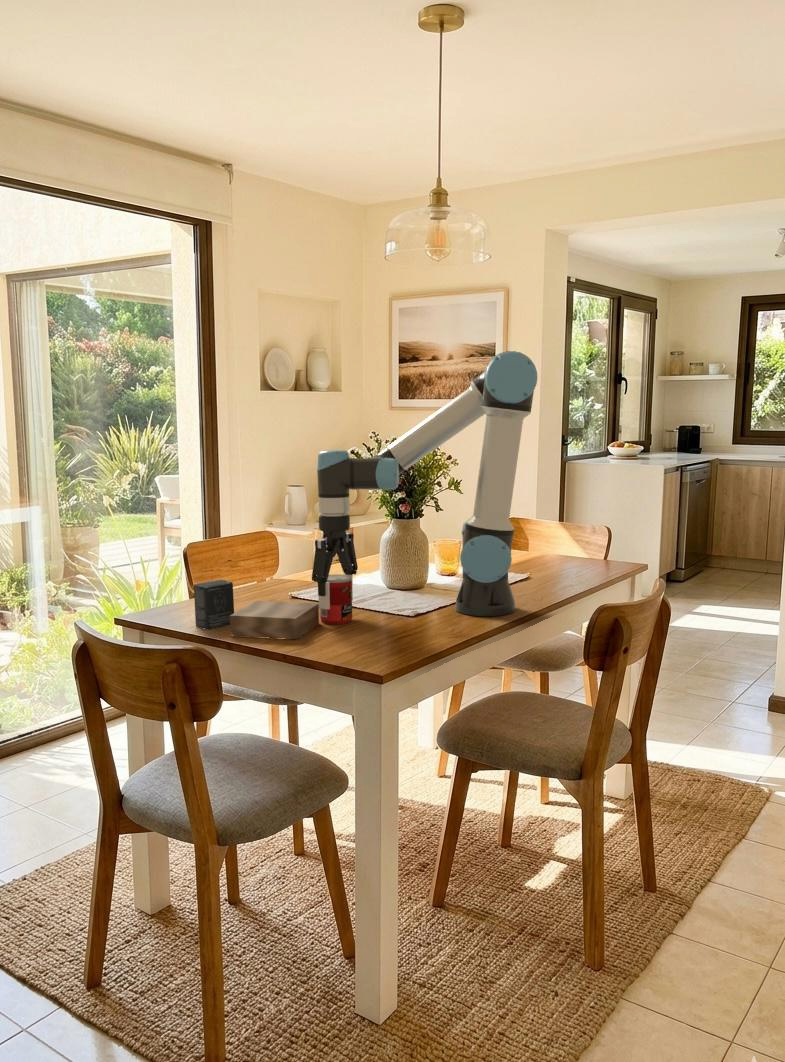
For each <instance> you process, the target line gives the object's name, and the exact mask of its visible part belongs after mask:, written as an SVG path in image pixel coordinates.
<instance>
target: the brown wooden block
mask: <svg viewBox="0 0 785 1062" xmlns="http://www.w3.org/2000/svg"><path fill="white" fill-rule="evenodd" d="M319 624H320V609H319V602H318V603H315V602H311V603H310V602H295V601H294V602H292V601H269V600H268V601H267V600H256V601H254V602H252V603H250V604H248V605H246V606H245V607H242V608H241V609H239V610H237V611H234V614H232V615H230V625H229V626H230V636H231V635H233V636H249V637H269V638H285V639H297V638H299V637H300V636H301V637H303V636H304V635H305V634H307V633H309V632H310V631H311V630H312V629H314V628H315V627H316V626H318V625H319ZM309 630H310V631H309ZM306 632H307V633H306ZM303 634H304V635H303ZM302 635H303V636H302ZM301 637H300V638H301ZM300 638H299V639H300ZM297 640H298V639H297Z"/></svg>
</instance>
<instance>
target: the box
mask: <svg viewBox="0 0 785 1062" xmlns="http://www.w3.org/2000/svg"><path fill="white" fill-rule="evenodd" d="M193 594H194V595H193V596H194V597H193V598H194V616H195V617H194V618H195V627H197V626H198V628H200V627H201V628H200V629H203V628H205V629H204V630H206V629H210V630H213V629H212V628H214V629H218V628H217V627H219V628H222V626H223V627H228V626H230V615H232V614H234V613H235V603H234V585H233V581H229V580H224V579H217V580H212V581H206V582H201V583H199V582H198V583H194V584H193Z"/></svg>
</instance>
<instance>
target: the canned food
mask: <svg viewBox="0 0 785 1062" xmlns="http://www.w3.org/2000/svg"><path fill="white" fill-rule="evenodd" d="M323 577H324V576H323ZM352 581H353V580H352V579H351V576H348V575H342V574H329V575H328V579H327V582H329V591H330V609H319V619H320V622H321V623H323V624H327V625H345V624H350V622H352V619H353V601H352V588H353V585H352Z"/></svg>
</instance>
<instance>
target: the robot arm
mask: <svg viewBox="0 0 785 1062" xmlns="http://www.w3.org/2000/svg"><path fill="white" fill-rule="evenodd" d="M537 383H538V370H537V367H536V365H535V363H534V361H533V360H532V359H531V358H530V357H529V356H528V355H526V354H524V353H522V352H520V351H515V350H513V351H512V350H511V351H510V350H506V351H503V352H500V353H498V354H496V355H495V356H493V357H492V358H491V360H489V362H488V363H487V366H486V368H485V370H484V371H482V372H481V373H480V374H479V375H478V376H477V377H475V378H474V379H473V380H471V381H470V385H469V387H468V388H467V389H465V390H464V391H463V392H462V393H460V394H459V395H457V396H456V397H454V398H453V399H452V400H450V401H449V402H448V403H446V404H445V405H443V406H442V407H440V408H439V409H438V410H436V411H435V412H434V413H432V414H430V415H429V416H428V417H426V418H425V419H423V421H421V422H420V423H418V424H417V425H415V426H414V427H413V428H411V429H410V430H409V431H407V432H406V433H404V434H403V435H401V436H400V437H399V438H397V439H396V440H395V441H393V442H392V443H390V444H389V445H388V446H386V447H385V448H383V449H381V451H379V452H378V453H376V454H374V455H373V456H372V457H371V458H369V457H368V458H365V457H364V458H352V457H350V455H349V454H350V453H349V452H348V451H347V450H345V449H326V450H321V451H320V452H319V453H318V455H317V468H316V471H317V492H318V496H317V497H318V500H317V501H318V513H319V514H320V515H319V516H318V529H319V531H321V532H322V533H323V534H322V537H321V538H320V539H315V540H314V548H315V550H314V557H313V565H312V571H311V572H312V573H311V581H312V582H314V583H317V596H318V604H319V610H320V609H330V591H329V582H327V579H328V575H330V571H331V568H332V563H333V560H334V558H335V557H336V555H337V559H338V561H339V563H340V565H341V568H342V572H343V574H341V575H348V576H351V579H352V586H354V585H353V581H354V580H353V575H357V574H358V573H357V572H358V567H359V566H358V562H357V555H356V550H355V544H354V537H355V536H354V533H352V532H347V531H349V530H350V529H351V522H350V521H351V519H350V518H351V517H350V515H349V513H350V512H351V510H350V509H351V508H350V503H351V502H350V490H353V491H354V490H374V491H375V490H380V491H381V490H382V491H387V490H396V489H397V488H398V487H399V484H400V483H399V482H400V475H401V474H403V472H405V471H406V470H407V469H409V468H410V467H412V466H413V465H415V464H417V462H419V461H420V460H422V459H423V458H425V457H426V456H427V455H429V454H431V453H432V452H433V451H435V450H436V449H438V448H439V447H440V446H442V445H443V444H445V443H446V442H448V441H450V440H451V439H452V438H453V437H454V436H456V435H458V433H460V432H462V431H463V430H464V429H466V428H467V427H469V426H470V425H472V424H473V423H475V422H476V421H477V420H479V419H480V418H482V417H483V416H484V415H485V416H486V418H485V425H484V432H483V439H482V445H481V446H482V448H481V456H480V461H479V462H480V463H479V468H478V469H479V470H478V477H477V485H476V491H475V500H474V508H473V514H472V516H471V517H469V518H468V519H467V520H465V522H464V523H463V525H462V530H461V536H462V542H461V543H462V547H461V552H460V556H459V557H460V559H459V560H460V564H461V568H462V580H461V585H460V588H459V591H458V594H457V596H456V599H455V611H457V612H458V613H459V614H463V615H467V616H474V617H477V616H478V617H496V616H497V617H498V616H499V617H500V616H506V615H511V614H513V613H514V612H515V611H516V603H515V601H516V600H515V598H514V595H513V592H512V588H511V585H510V583H509V570H510V568H511V565H512V559H513V558H512V548H513V547H512V546H513V541H514V532H515V526H513V524H512V523H511V521H510V515H511V508H512V503H513V502H512V500H513V494H514V488H515V487H514V486H515V482H516V481H515V480H516V474H517V466H518V459H519V451H520V444H521V439H522V438H521V437H522V432H523V431H522V430H523V424H524V419H525V418H527V417H528V416H530V414H531V413H532V407H533V401H534V394H535V389H536V387H537ZM323 576H324V577H323ZM353 591H354V589H353V587H352V602H353V601H354V599H353V598H354V597H353V596H354V594H353Z"/></svg>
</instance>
